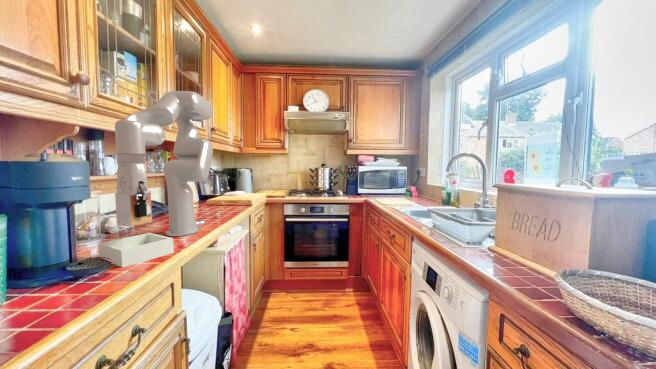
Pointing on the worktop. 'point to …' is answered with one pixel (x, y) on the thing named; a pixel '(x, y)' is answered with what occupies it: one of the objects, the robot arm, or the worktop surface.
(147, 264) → the worktop surface
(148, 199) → the small box
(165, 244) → the storage bin
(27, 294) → the worktop surface
